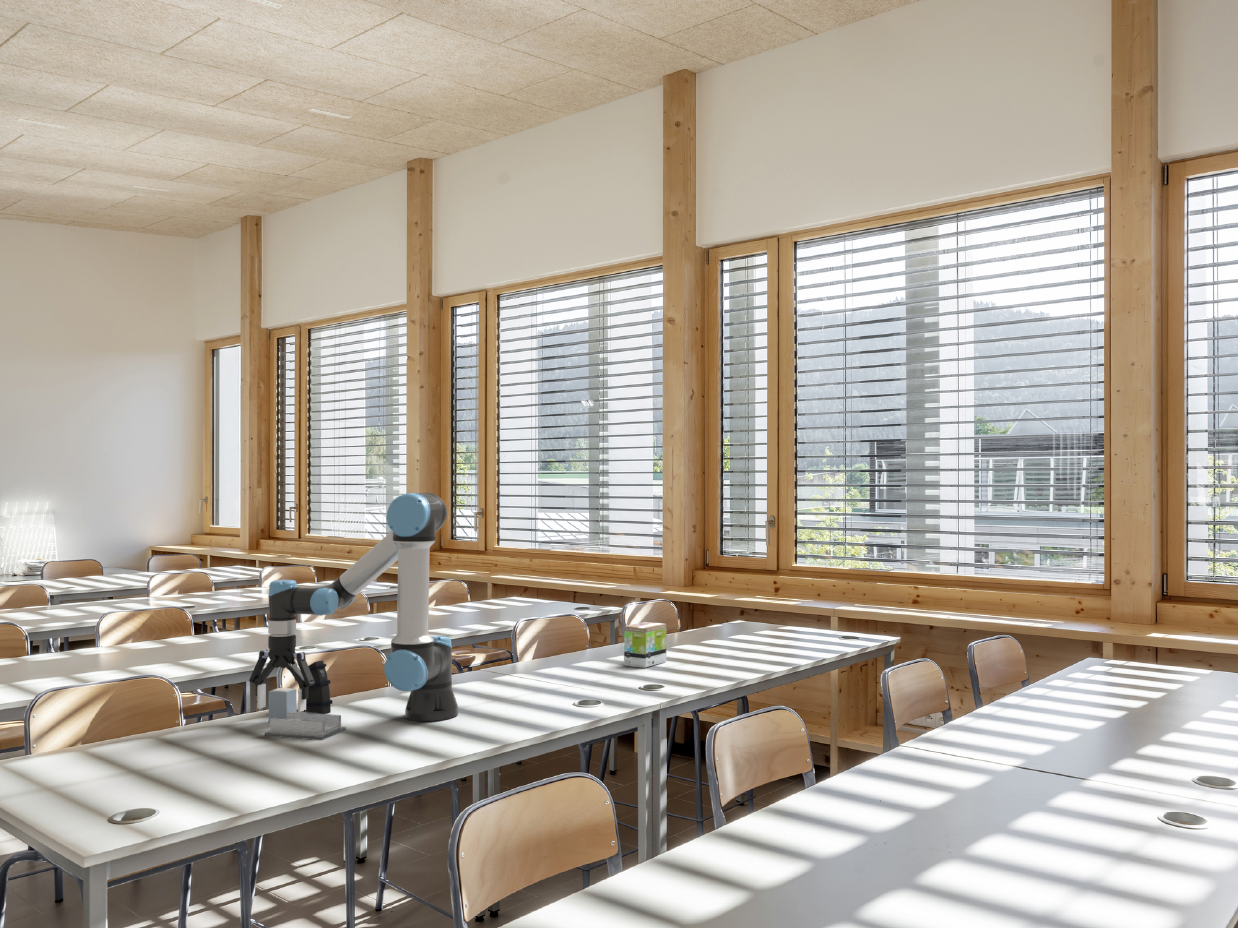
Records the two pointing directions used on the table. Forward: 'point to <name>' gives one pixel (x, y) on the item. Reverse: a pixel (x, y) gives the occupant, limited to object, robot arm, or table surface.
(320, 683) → the magazine
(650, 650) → the tea box
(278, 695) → the block
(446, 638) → the robot arm
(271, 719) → the grey piece
